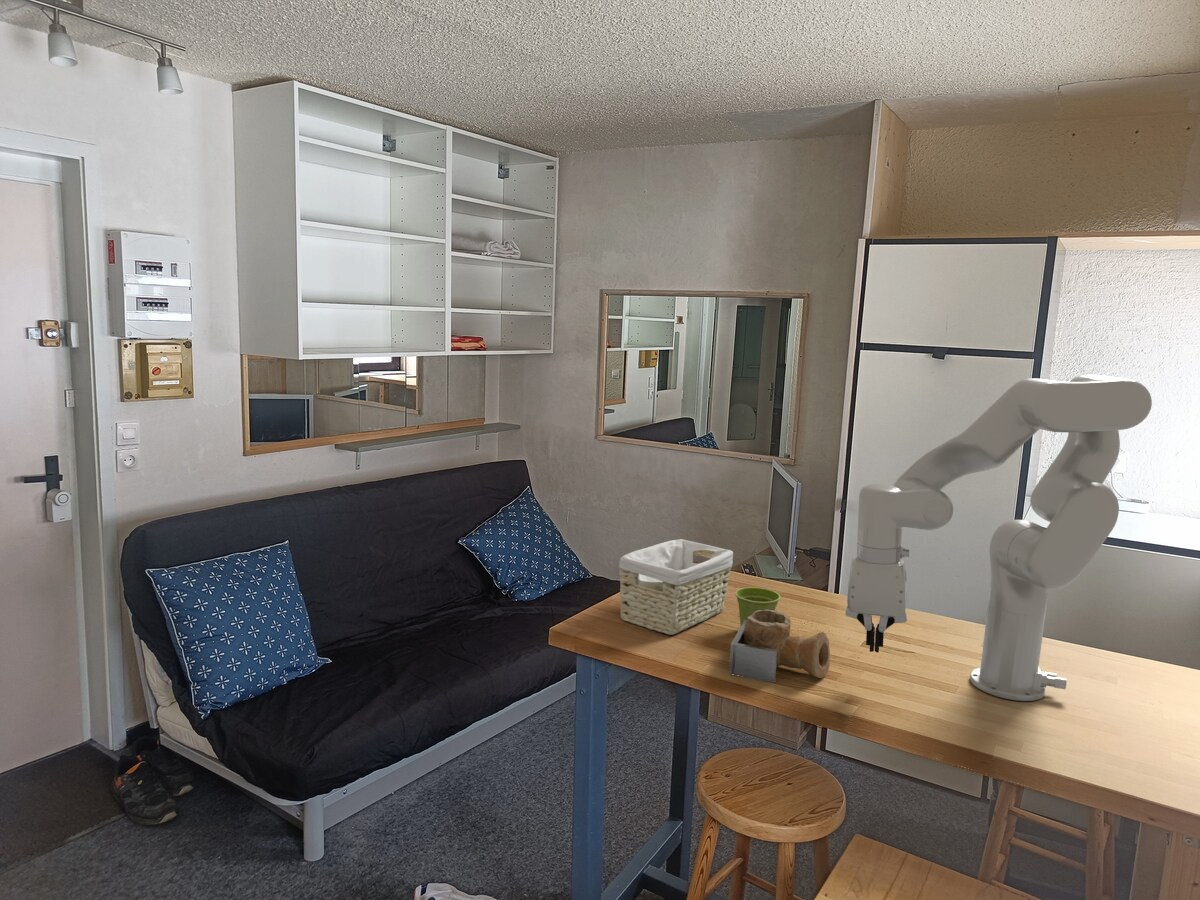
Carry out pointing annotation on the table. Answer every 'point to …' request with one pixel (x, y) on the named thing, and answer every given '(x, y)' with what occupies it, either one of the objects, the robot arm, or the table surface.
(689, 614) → the storage basket
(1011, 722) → the table surface
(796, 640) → the pipe
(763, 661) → the gray channel bracket
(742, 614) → the plant pot
